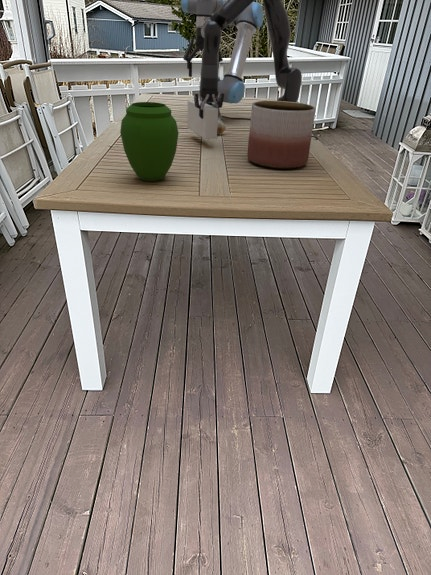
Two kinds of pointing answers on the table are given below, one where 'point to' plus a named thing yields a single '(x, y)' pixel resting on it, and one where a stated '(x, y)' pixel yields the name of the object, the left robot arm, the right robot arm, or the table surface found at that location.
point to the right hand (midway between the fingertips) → (208, 117)
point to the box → (203, 120)
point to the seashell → (220, 126)
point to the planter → (280, 134)
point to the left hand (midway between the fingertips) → (202, 76)
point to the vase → (149, 139)
